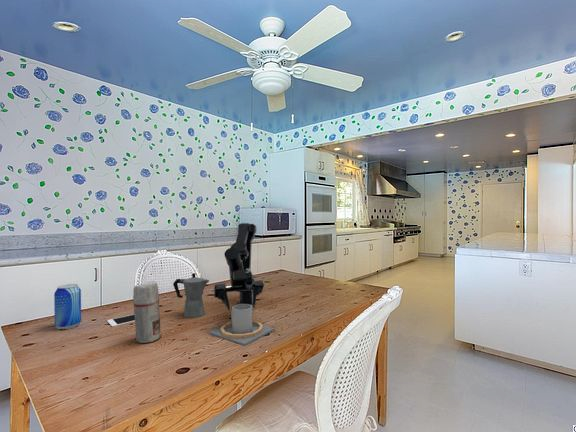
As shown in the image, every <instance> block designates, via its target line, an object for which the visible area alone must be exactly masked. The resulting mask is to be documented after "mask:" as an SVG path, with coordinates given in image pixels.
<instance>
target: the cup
mask: <svg viewBox="0 0 576 432" xmlns="http://www.w3.org/2000/svg"><path fill="white" fill-rule="evenodd" d="M230 311H231V312H230V317H231V322H232V330H233V333H234V334H246V333H250V332H251V331H252V320H253V305H252V304H251V305H249V304H235V305H233V306H232V307H231V310H230Z"/></svg>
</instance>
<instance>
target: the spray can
mask: <svg viewBox="0 0 576 432" xmlns="http://www.w3.org/2000/svg"><path fill="white" fill-rule="evenodd" d="M159 295H160V294H159V286H158V283H157V282H156V281H155V280H150V281H148V282H144V283H142V284H139V285H134V287H133V294H132V297H133V298H132V301H133V310H134V312H133V314H135V322H134V328H135V329H134V331H135V342H136V343H139V344H147V343H148V344H149V343H151V342H155V341H157V340H159V339H160V338H161V337H162V334H161V316H160V315H161V314H160V313H161V312H160V310H161V309H160V296H159Z"/></svg>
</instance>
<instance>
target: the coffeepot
mask: <svg viewBox="0 0 576 432" xmlns="http://www.w3.org/2000/svg"><path fill="white" fill-rule="evenodd" d="M208 283H210V280H209V279H208V278H207V279H205V278H203V277H196V273H195V272H194V273H191V277H189V278H176V279H175V281H173V282H172V286H173V288H174V290H175V293H176V296H177V298H179V299H182V298H183V297H184V295H185V301H184V308H183V316H184V318H186V319H187V318H188V319H193V318H194V319H195V318H199V317H202V316H204V315H205V314H206V313H205V306H204V301H203V294H204V289H205V288H206V286H207V284H208ZM179 284H181V285H182V284H183V289H184V295H181V290H179Z"/></svg>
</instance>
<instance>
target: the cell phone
mask: <svg viewBox="0 0 576 432" xmlns="http://www.w3.org/2000/svg"><path fill="white" fill-rule="evenodd" d="M106 322H107V324H108V323H109V324H110V325H111V326H112V327H111V326H110V325H109V324H108V325H109V326H110V327H111V328H115V327H114V326H116V327H119V326H118V325H120V326H123V325H129V324H133V323H135V314H134V313H133V314H129V315H125V316H120V317H115V318H111V319H108V320H107V321H106ZM128 323H129V324H128Z"/></svg>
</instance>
